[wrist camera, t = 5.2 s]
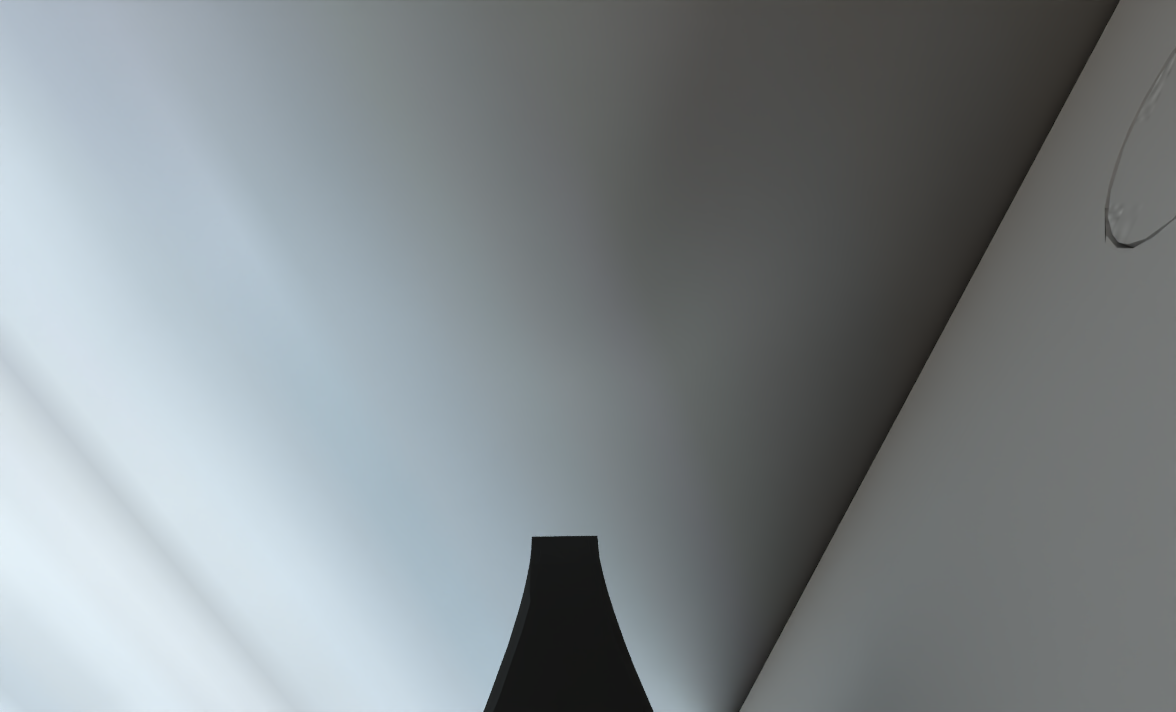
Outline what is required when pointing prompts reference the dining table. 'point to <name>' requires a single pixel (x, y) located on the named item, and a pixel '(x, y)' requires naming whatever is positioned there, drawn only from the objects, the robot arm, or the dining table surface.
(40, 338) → the dining table surface
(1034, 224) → the white zipper pouch
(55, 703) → the dining table surface
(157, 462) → the dining table surface
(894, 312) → the dining table surface
